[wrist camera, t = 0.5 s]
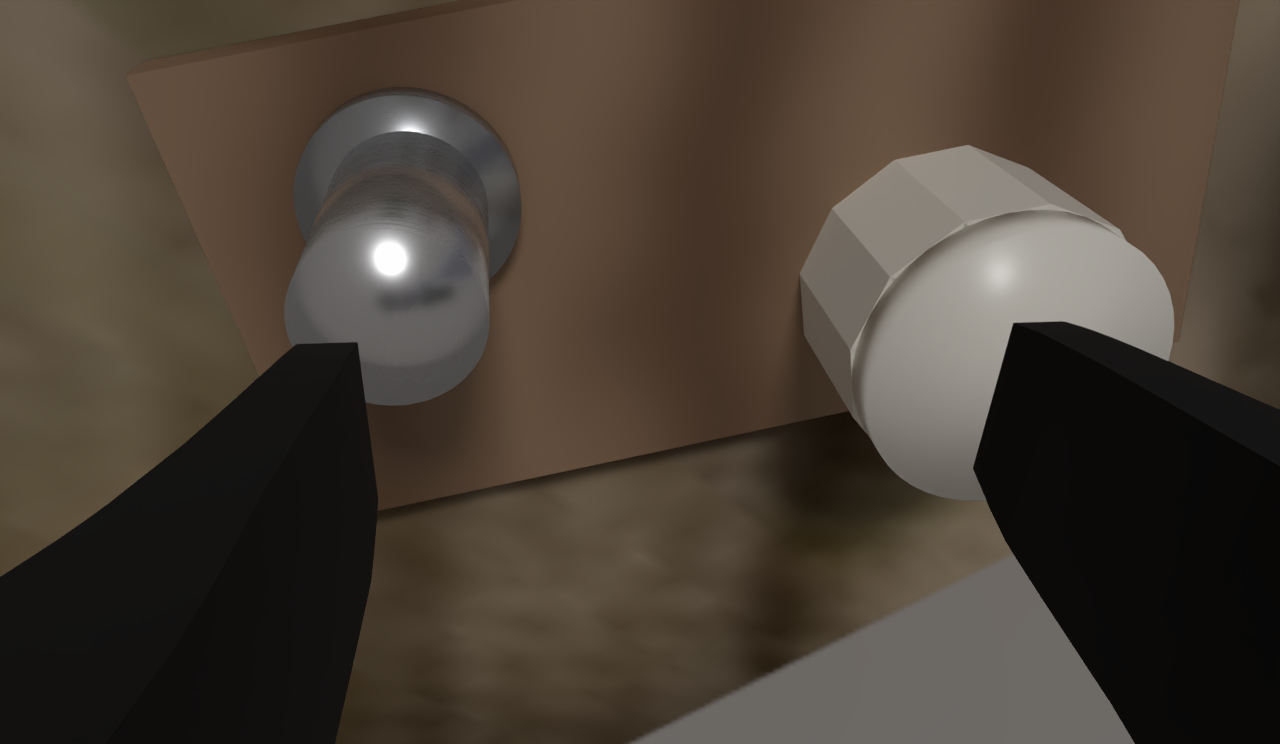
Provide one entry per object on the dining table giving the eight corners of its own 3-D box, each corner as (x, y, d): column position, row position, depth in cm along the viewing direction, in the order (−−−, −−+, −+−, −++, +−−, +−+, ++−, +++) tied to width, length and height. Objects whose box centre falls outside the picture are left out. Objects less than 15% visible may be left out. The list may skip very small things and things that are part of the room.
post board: (1227, -147, 17) (1535, -126, 12) (1153, 320, 23) (1345, 471, 18) (143, 61, 17) (-7, 177, 12) (330, 494, 22) (283, 704, 17)
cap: (1068, 124, 19) (1198, 197, 15) (1046, 361, 22) (1151, 466, 18) (792, 180, 18) (862, 266, 15) (809, 412, 21) (870, 527, 18)
